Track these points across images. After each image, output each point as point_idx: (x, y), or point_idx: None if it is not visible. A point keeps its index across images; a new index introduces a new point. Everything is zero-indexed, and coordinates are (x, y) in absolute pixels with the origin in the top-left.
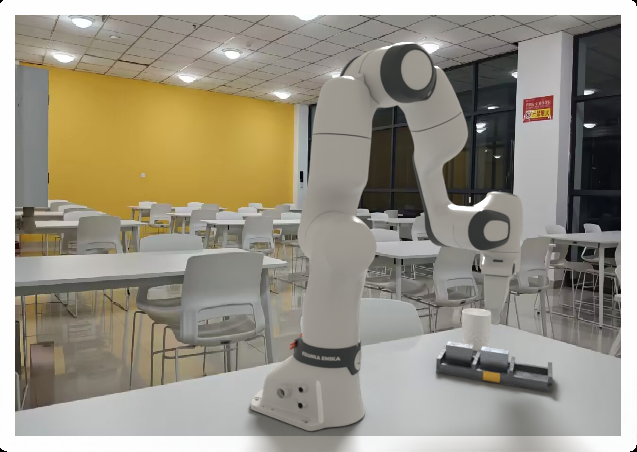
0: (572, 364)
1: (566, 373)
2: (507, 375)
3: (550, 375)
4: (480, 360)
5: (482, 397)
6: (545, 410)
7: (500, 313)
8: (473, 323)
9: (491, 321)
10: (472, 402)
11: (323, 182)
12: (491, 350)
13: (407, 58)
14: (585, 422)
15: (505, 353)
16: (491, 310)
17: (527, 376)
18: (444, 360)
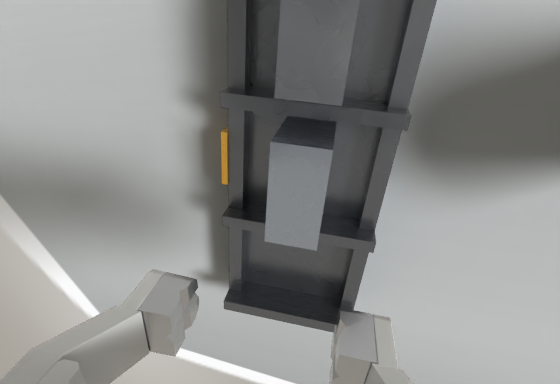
0: (477, 367)
1: None
2: (229, 203)
3: (235, 307)
4: (280, 127)
5: (115, 118)
6: (133, 247)
7: (331, 371)
8: None
9: (145, 279)
10: (66, 90)
11: None
12: (285, 186)
13: None
14: (125, 296)
15: (268, 233)
16: (33, 352)
17: (295, 250)
18: None
